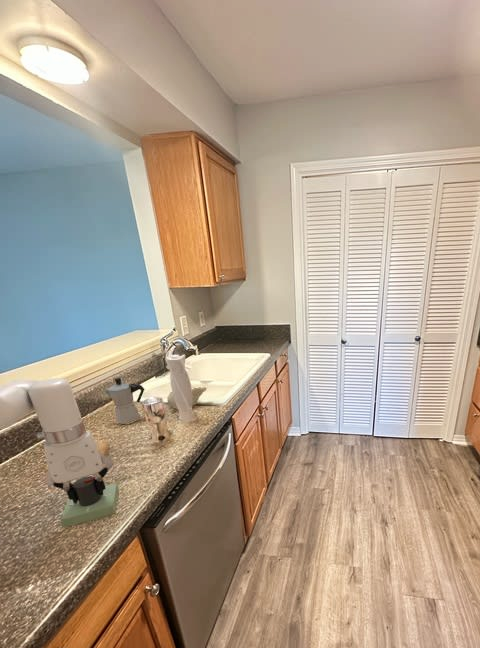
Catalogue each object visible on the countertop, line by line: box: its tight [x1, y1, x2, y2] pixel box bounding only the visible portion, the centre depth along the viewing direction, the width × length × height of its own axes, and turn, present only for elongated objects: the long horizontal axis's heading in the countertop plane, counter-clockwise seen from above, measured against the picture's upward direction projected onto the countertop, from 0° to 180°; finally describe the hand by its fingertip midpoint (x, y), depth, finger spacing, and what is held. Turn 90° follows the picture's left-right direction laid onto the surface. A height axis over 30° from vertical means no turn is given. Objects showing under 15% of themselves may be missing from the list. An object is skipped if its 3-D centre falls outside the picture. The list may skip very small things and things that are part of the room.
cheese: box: [167, 386, 208, 410], centre depth 141 cm, size 15×7×15 cm
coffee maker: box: [102, 377, 146, 424], centre depth 128 cm, size 15×9×18 cm, turn 104°
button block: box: [96, 441, 110, 457], centre depth 105 cm, size 12×10×4 cm
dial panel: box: [60, 483, 120, 529], centre depth 82 cm, size 11×10×3 cm
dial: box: [73, 475, 101, 506], centre depth 81 cm, size 5×5×6 cm
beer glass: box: [141, 396, 172, 444], centre depth 112 cm, size 7×7×15 cm
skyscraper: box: [165, 349, 197, 424], centre depth 124 cm, size 8×8×28 cm
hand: (89, 495), depth 81 cm, fingers closed on dial, 4 cm apart
